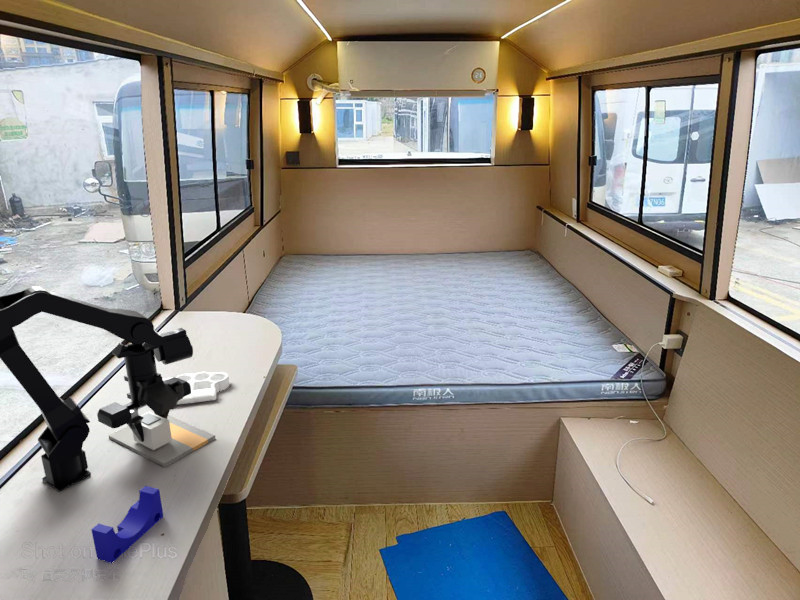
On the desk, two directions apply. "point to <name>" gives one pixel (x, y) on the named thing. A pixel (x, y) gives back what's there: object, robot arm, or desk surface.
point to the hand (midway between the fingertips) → (151, 436)
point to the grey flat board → (181, 444)
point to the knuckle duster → (203, 386)
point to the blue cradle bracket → (128, 526)
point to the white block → (154, 431)
